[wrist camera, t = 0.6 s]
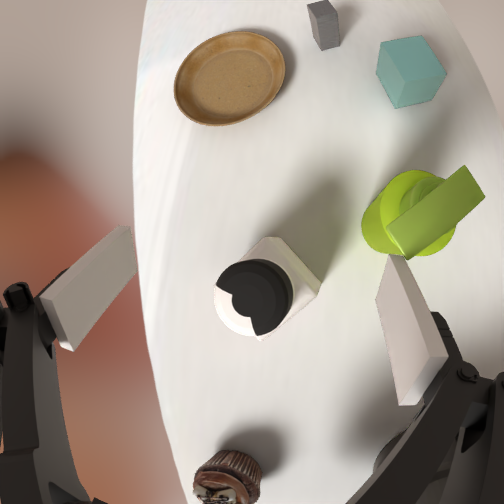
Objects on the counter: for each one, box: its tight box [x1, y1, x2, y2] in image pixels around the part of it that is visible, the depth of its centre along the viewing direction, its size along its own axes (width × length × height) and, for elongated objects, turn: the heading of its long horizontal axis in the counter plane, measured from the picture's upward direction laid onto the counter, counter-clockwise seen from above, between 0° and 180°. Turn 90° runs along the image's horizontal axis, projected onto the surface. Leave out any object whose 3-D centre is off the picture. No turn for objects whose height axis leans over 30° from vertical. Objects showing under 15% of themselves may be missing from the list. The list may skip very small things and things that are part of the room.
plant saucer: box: [174, 31, 285, 126], centre depth 34 cm, size 15×15×3 cm
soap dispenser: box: [361, 165, 485, 260], centre depth 21 cm, size 6×7×20 cm
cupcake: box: [193, 450, 262, 504], centre depth 32 cm, size 10×10×10 cm
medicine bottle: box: [214, 237, 321, 341], centre depth 28 cm, size 7×7×12 cm
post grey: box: [307, 0, 340, 51], centre depth 28 cm, size 3×3×7 cm
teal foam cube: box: [376, 36, 447, 109], centre depth 25 cm, size 5×5×7 cm
